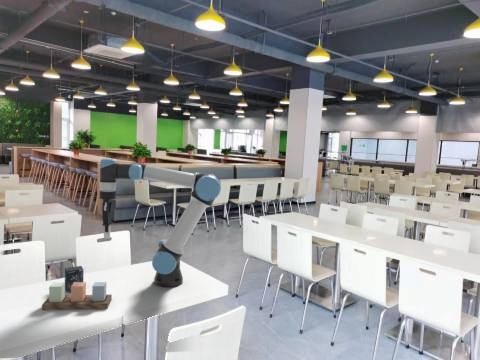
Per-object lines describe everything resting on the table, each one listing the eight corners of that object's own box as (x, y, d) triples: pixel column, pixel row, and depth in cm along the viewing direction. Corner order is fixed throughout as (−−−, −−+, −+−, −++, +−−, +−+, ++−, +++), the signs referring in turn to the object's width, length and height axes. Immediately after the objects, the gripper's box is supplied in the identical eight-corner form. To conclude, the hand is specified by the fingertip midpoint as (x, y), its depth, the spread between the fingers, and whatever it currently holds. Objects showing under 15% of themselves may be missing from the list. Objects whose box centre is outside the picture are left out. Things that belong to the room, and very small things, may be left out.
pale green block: (64, 297, 170) (64, 282, 169) (61, 301, 165) (61, 286, 164) (53, 297, 169) (53, 282, 168) (49, 302, 164) (49, 286, 163)
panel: (111, 299, 175) (111, 294, 175) (107, 308, 166) (107, 303, 165) (50, 300, 171) (50, 295, 171) (42, 310, 161) (42, 304, 161)
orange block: (85, 297, 171) (85, 282, 170) (82, 301, 166) (82, 286, 165) (74, 297, 170) (74, 282, 170) (70, 301, 165) (71, 286, 165)
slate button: (106, 296, 172) (106, 282, 172) (103, 301, 167) (104, 286, 167) (94, 296, 172) (94, 282, 171) (92, 301, 167) (92, 286, 166)
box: (66, 292, 181) (66, 271, 181) (64, 288, 186) (64, 267, 185) (83, 289, 186) (83, 268, 185) (81, 285, 190) (81, 265, 190)
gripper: (102, 188, 188) (101, 234, 190) (96, 192, 175) (95, 241, 177) (118, 189, 189) (117, 235, 191) (113, 192, 176) (112, 241, 178)
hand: (106, 238), depth 184 cm, fingers closed
